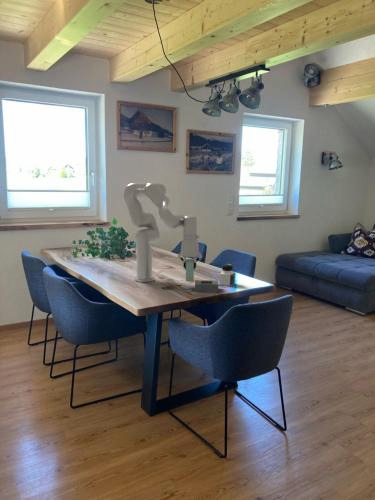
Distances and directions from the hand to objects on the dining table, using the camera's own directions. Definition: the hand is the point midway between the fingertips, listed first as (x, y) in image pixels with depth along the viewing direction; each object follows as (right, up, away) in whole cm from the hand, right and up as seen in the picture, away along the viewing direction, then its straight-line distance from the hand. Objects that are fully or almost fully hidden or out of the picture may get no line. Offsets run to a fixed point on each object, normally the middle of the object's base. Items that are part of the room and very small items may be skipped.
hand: (189, 268), depth 228 cm
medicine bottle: (+23, -10, +11) cm, 27 cm away
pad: (0, -11, +2) cm, 11 cm away
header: (+10, -12, -2) cm, 15 cm away
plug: (0, -7, +1) cm, 7 cm away
